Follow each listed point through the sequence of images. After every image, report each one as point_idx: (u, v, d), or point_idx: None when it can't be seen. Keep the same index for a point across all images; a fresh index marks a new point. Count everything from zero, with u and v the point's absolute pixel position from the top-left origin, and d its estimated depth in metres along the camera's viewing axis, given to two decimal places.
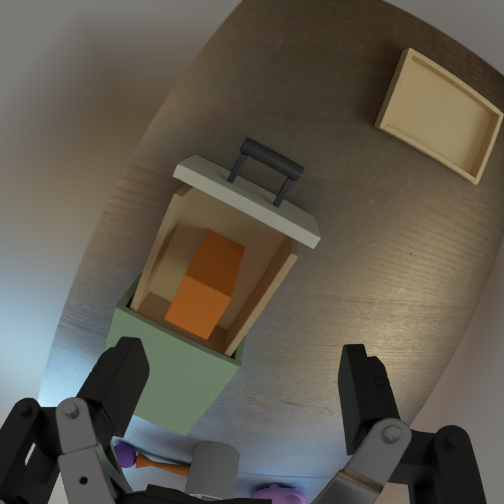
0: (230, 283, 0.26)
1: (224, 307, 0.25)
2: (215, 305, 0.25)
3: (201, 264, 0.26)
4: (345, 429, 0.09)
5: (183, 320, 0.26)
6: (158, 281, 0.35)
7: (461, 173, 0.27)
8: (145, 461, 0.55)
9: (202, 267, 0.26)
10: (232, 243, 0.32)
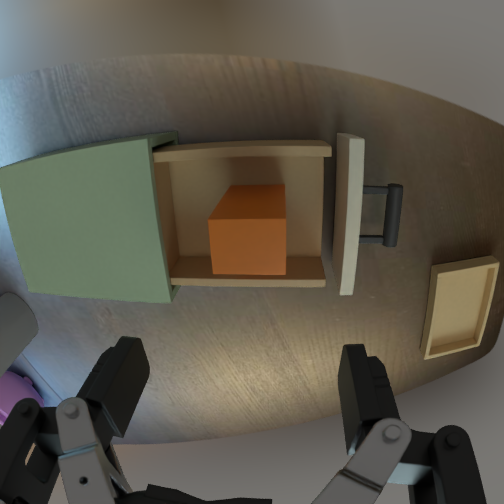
0: None
1: (269, 273, 0.22)
2: (266, 263, 0.21)
3: None
4: (345, 429, 0.09)
5: (221, 240, 0.21)
6: None
7: (428, 345, 0.35)
8: None
9: None
10: None
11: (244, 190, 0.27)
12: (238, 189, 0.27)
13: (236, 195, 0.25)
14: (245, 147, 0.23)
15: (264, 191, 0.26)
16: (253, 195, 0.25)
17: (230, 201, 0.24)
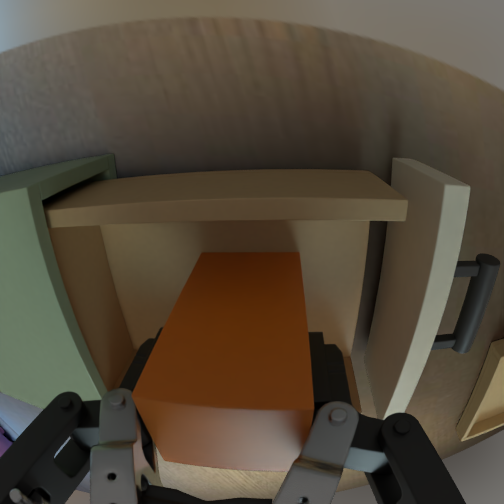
0: None
1: (271, 470, 0.09)
2: (264, 461, 0.09)
3: None
4: None
5: (168, 429, 0.08)
6: None
7: (468, 428, 0.22)
8: None
9: None
10: None
11: (224, 271, 0.14)
12: (213, 267, 0.15)
13: (207, 290, 0.13)
14: (219, 200, 0.10)
15: (262, 277, 0.14)
16: (240, 292, 0.13)
17: (192, 316, 0.11)
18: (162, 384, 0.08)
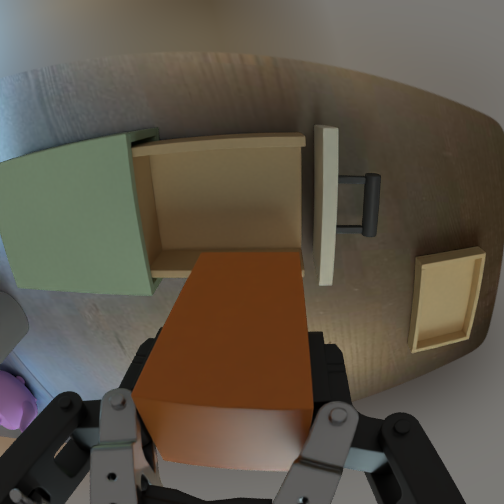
0: None
1: (270, 470, 0.09)
2: (264, 461, 0.09)
3: None
4: None
5: (168, 429, 0.08)
6: (168, 153, 0.28)
7: (415, 338, 0.35)
8: None
9: None
10: None
11: (224, 271, 0.14)
12: (213, 267, 0.15)
13: (206, 290, 0.13)
14: (220, 139, 0.23)
15: (261, 277, 0.14)
16: (239, 292, 0.13)
17: (192, 315, 0.11)
18: (161, 384, 0.08)
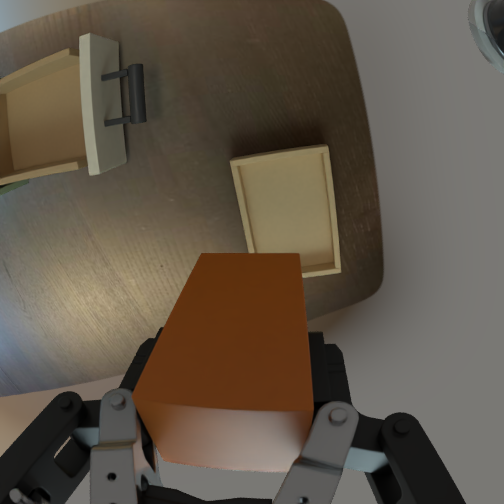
0: None
1: (270, 471, 0.09)
2: (264, 462, 0.09)
3: None
4: None
5: (168, 430, 0.08)
6: (15, 92, 0.26)
7: None
8: None
9: None
10: None
11: (224, 272, 0.14)
12: (213, 268, 0.15)
13: (206, 291, 0.13)
14: (22, 68, 0.21)
15: (262, 278, 0.14)
16: (240, 293, 0.13)
17: (192, 317, 0.11)
18: (162, 385, 0.08)
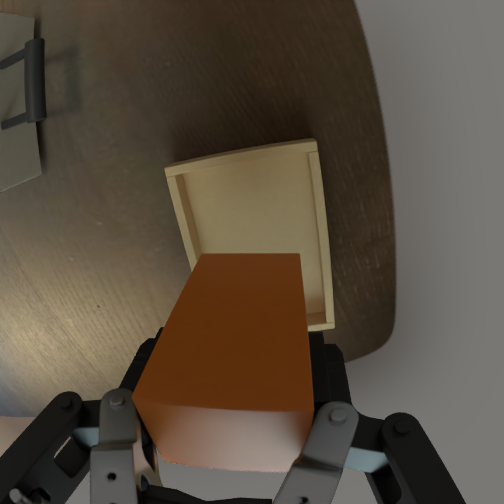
0: None
1: (271, 471, 0.09)
2: (264, 462, 0.09)
3: None
4: None
5: (168, 430, 0.08)
6: None
7: None
8: None
9: None
10: None
11: (224, 273, 0.14)
12: (213, 268, 0.15)
13: (207, 292, 0.13)
14: None
15: (262, 278, 0.14)
16: (240, 293, 0.13)
17: (192, 317, 0.11)
18: (162, 385, 0.08)
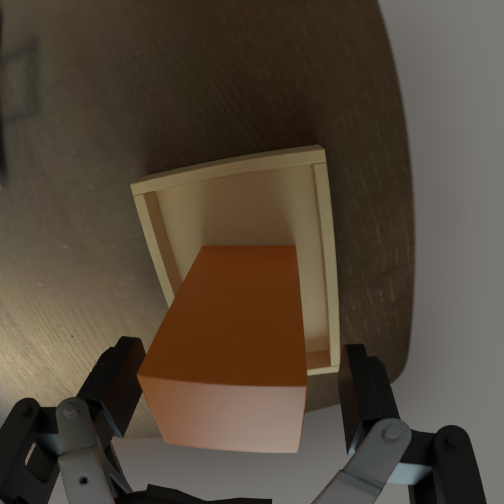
0: None
1: (268, 451, 0.10)
2: (261, 442, 0.10)
3: None
4: (345, 429, 0.09)
5: (171, 408, 0.09)
6: None
7: None
8: None
9: None
10: None
11: (224, 263, 0.15)
12: (213, 259, 0.15)
13: (207, 280, 0.14)
14: None
15: (260, 268, 0.14)
16: (239, 282, 0.13)
17: (194, 303, 0.12)
18: (166, 364, 0.09)
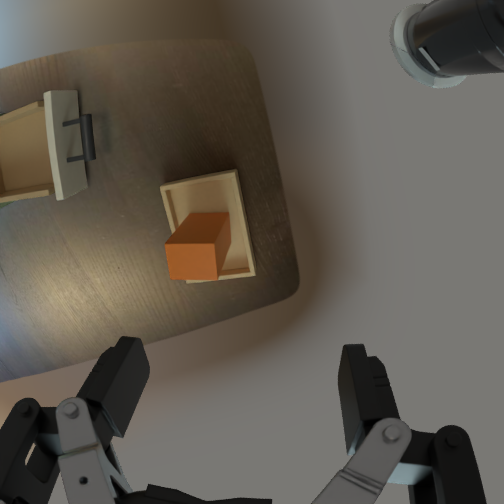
0: (220, 268, 0.33)
1: (207, 279, 0.32)
2: (204, 273, 0.31)
3: (219, 240, 0.32)
4: (345, 429, 0.09)
5: (174, 257, 0.31)
6: (3, 128, 0.34)
7: None
8: None
9: (219, 243, 0.32)
10: (230, 234, 0.39)
11: (197, 218, 0.37)
12: (193, 217, 0.37)
13: (190, 223, 0.35)
14: (5, 114, 0.28)
15: (211, 219, 0.36)
16: (201, 223, 0.35)
17: (184, 228, 0.34)
18: (173, 241, 0.31)
